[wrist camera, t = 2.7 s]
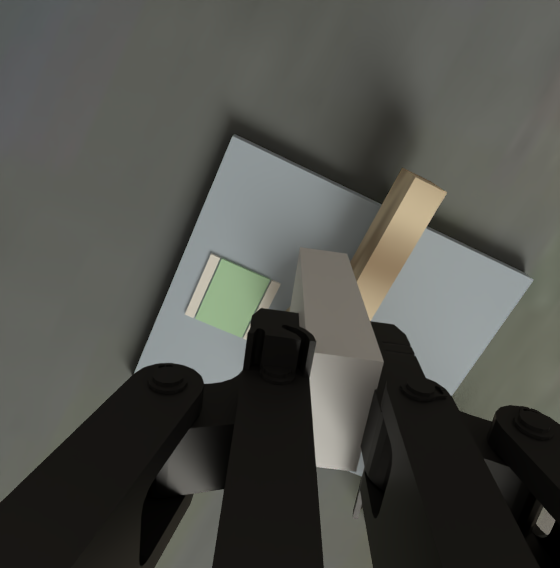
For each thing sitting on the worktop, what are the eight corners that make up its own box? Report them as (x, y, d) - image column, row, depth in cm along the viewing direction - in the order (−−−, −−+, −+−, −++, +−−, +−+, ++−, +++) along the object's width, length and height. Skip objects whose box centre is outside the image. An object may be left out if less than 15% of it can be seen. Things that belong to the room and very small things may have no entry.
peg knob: (313, 438, 35) (317, 489, 30) (233, 406, 34) (226, 455, 29) (460, 195, 28) (492, 216, 24) (367, 149, 28) (383, 162, 23)
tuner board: (133, 377, 35) (127, 389, 34) (234, 133, 29) (232, 136, 27) (384, 474, 38) (388, 488, 37) (525, 272, 32) (535, 280, 30)
